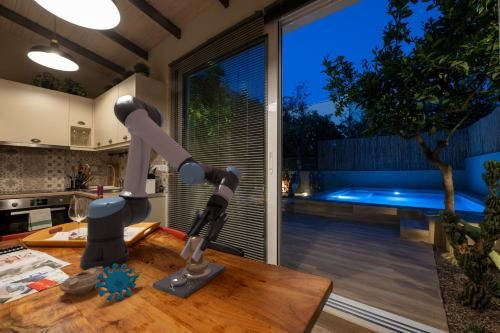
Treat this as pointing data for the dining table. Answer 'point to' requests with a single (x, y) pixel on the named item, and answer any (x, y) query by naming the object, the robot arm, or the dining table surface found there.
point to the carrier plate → (187, 280)
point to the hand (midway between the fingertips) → (188, 258)
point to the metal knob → (202, 262)
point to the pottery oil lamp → (82, 281)
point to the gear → (117, 282)
